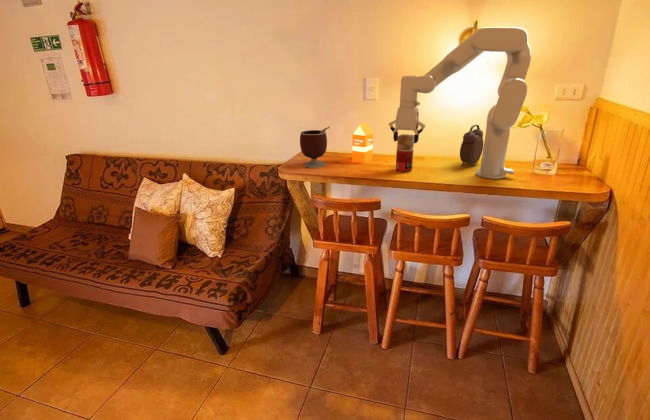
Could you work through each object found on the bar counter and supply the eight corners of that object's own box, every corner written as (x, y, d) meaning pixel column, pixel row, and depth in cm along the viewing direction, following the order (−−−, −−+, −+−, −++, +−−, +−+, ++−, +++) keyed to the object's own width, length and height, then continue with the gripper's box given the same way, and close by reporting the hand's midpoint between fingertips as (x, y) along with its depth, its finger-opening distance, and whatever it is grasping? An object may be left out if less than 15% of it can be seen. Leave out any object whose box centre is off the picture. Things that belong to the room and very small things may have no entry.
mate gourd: (298, 168, 180) (296, 128, 172) (304, 161, 192) (302, 124, 184) (328, 169, 177) (327, 129, 169) (332, 162, 189) (331, 124, 182)
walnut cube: (413, 147, 169) (414, 135, 166) (409, 150, 164) (410, 137, 162) (401, 146, 172) (402, 134, 169) (397, 148, 167) (397, 136, 165)
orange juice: (352, 161, 190) (352, 123, 182) (360, 158, 196) (360, 121, 189) (364, 163, 185) (365, 125, 178) (372, 159, 192) (373, 122, 184)
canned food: (407, 173, 167) (409, 150, 163) (392, 171, 172) (393, 148, 167) (414, 169, 173) (416, 147, 168) (399, 167, 177) (401, 145, 173)
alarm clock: (468, 160, 186) (473, 122, 178) (481, 163, 181) (487, 123, 173) (455, 166, 176) (460, 126, 169) (469, 169, 171) (475, 127, 164)
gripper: (429, 104, 159) (425, 142, 166) (392, 103, 167) (391, 139, 174) (424, 106, 153) (421, 145, 160) (387, 104, 161) (385, 141, 168)
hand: (405, 141), depth 167 cm, fingers open, 9 cm apart
